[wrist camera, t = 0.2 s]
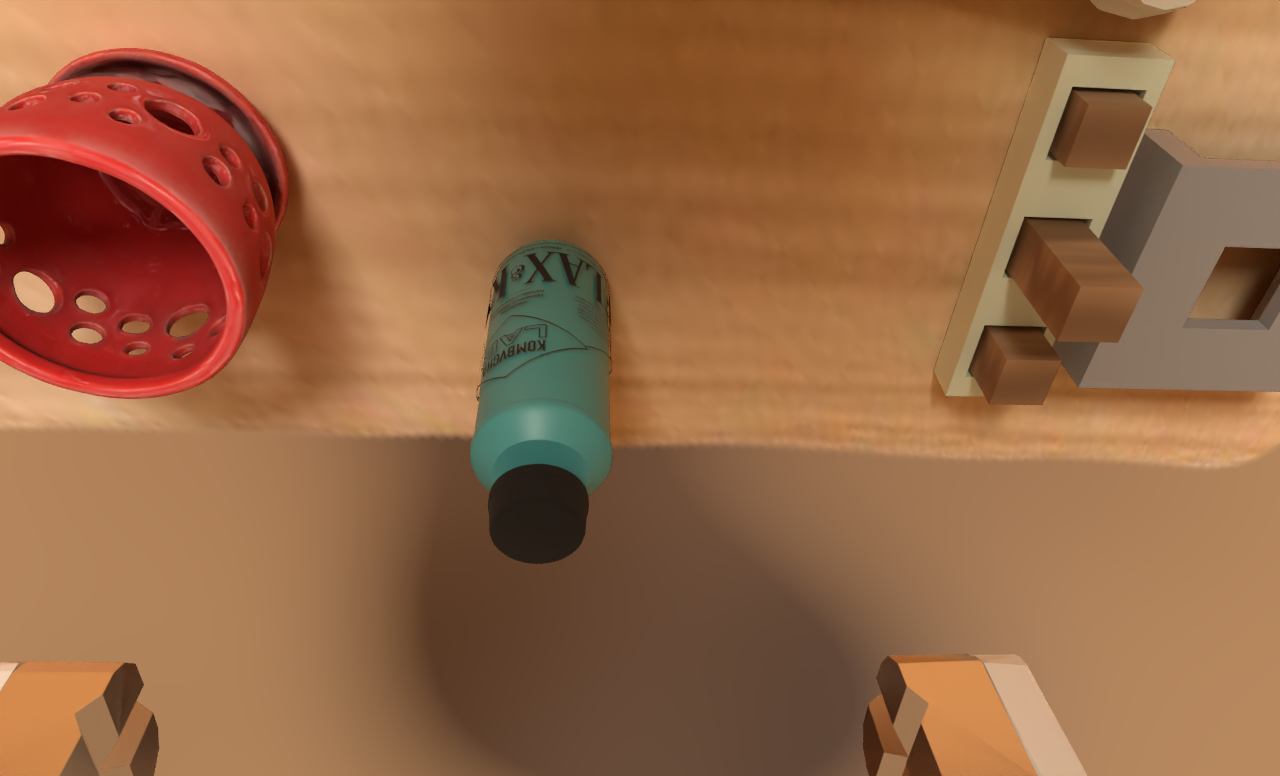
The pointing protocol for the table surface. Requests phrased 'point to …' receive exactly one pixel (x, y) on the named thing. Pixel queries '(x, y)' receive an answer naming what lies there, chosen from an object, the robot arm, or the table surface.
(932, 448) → the table surface
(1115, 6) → the beige long piece
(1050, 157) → the peg rack
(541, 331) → the beverage bottle
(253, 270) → the plant pot
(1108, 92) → the pin short
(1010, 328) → the pin medium
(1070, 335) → the pin long
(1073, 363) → the hole bridge
